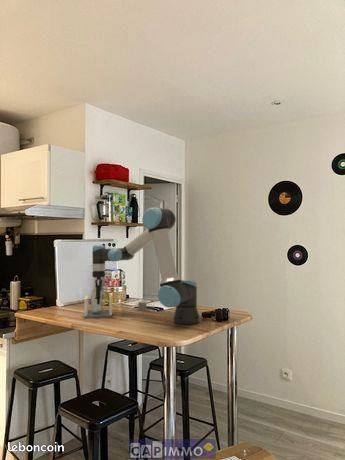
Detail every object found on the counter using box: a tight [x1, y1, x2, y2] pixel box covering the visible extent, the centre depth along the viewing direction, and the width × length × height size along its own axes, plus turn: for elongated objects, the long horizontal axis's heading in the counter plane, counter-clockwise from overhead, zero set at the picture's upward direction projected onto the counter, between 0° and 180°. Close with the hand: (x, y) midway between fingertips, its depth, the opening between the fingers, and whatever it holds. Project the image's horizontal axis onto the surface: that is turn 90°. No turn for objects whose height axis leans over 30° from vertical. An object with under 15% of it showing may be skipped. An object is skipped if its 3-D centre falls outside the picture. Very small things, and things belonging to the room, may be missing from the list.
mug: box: [90, 289, 107, 312], centre depth 219 cm, size 10×7×12 cm, turn 133°
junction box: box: [137, 300, 147, 312], centre depth 237 cm, size 6×5×5 cm
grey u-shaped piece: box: [83, 294, 113, 320], centre depth 218 cm, size 14×16×12 cm
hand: (98, 308), depth 218 cm, fingers closed on mug, 7 cm apart
